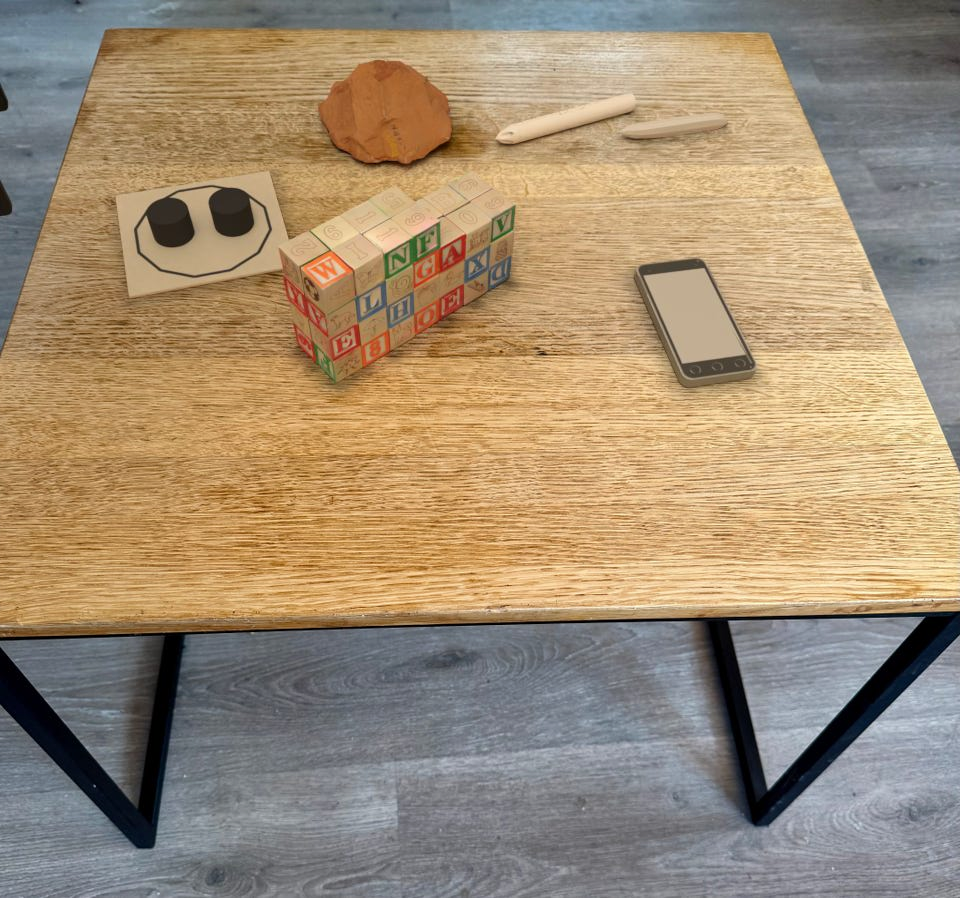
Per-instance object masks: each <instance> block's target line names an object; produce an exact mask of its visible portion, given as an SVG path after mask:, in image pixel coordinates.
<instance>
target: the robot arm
mask: <svg viewBox="0 0 960 898" xmlns="http://www.w3.org/2000/svg"><path fill="white" fill-rule="evenodd" d="M8 109H9V100H8V97H7V95H6V92H5V90H4V87H3V85H2V84H1V83H0V113H1V112H6V111H7V110H8ZM12 213H13V202H12V201H11V198H10V196H9V195H8V193H7V191H6V188H5V186H4V184H3V182H2V181H1V179H0V217H5V216H9V215H11V214H12Z"/></svg>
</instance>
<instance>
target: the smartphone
mask: <svg viewBox="0 0 960 898" xmlns="http://www.w3.org/2000/svg"><path fill="white" fill-rule="evenodd" d="M633 278H634V281H635V284H636V286H637V288H638V290H639V293H640V295H641V297H642V300H643V302H644V304H645V306H646V309H647V311H648V314H649V317H650V318H651V321H652V323H653V326H654V328H655V331H656V332H657V334H658V337H659V339H660V341H661V343H662V346H663V348H664V350H665V352H666V355H667V357H668V360H669V362H670V364H671V366H672V368H673V371H674V373H675V376H676V378H677V381H678V382H679V384H680V385H682V386H683V387H685V388H693V387H695V388H696V387H700V386H702V387H703V386H708V385H715V384H721V383H728V382H729V383H730V382H736V381H741V380H748V379H751V378H753V377H754V374H755V373H756V371H757V369H758V363H757V360H756V358H755V356H754V354H753V352H752V351H751V349H750V346H749V345H748V343H747V341H746V339H745V337H744V334H743V333H742V331H741V329H740V327H739V325H738V323H737V321H736V319H735V317H734V315H733V312H732V310H730V309H731V308H730V307H729V305H728V302H727V301H726V299H725V297H724V295H723V294H722V291H721V289H720V288H719V285H718V283H717V280H716V279H715V277H714V276H713V273H712V272H711V270H710V267H709V265H708V263H707V262H706V261H705V259H702V258H701V257H691V258H690V257H689V258H682V259H673V260H666V261H659V262H651V263H649V262H648V263H642V264H639V265H637V267H636V269H635V273H634V276H633Z"/></svg>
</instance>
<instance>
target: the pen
mask: <svg viewBox="0 0 960 898" xmlns="http://www.w3.org/2000/svg"><path fill="white" fill-rule="evenodd" d="M728 122H729V119H728V118H727V117H726V116H725V115H724V114H722V113H720V112H705V113H704V112H703V113H697V114H690V115H682V116H675V117H669V118H663V119H656V120H650V121H643V122H636V123H632V124H629V125H627V126H625V127H623V128H622V129H620V130H619V131H618V132H617V133H619V134H621V135H622V136H624V137H628V138H631V139H639V140H640V139H657V138H658V139H659V138H670V137H677V136H683V135H689V134H690V135H691V134H697V133H702V132H708V131H715V130H718V129H721V128H723V127H724V126H725V125H726V124H727V123H728Z"/></svg>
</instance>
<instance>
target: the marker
mask: <svg viewBox="0 0 960 898" xmlns="http://www.w3.org/2000/svg"><path fill="white" fill-rule="evenodd" d="M636 105H637V99H636V97H635V94H634V93H632V92H628V93H623V94H619V95H616V96H612V97H607V98H604V99H600V100H597V101H592V102H590V103H586V104H581V105H578V106H575V107H571V108H567V109H563V110H559V111H556V112H551V113H547V114H544V115H540V116H537V117H533V118H530V119H526V120H523V121H519V122H515V123H511V124H509V125H507V126H505V127H504V128H503V129H502V130H501V131H499V132H498V134H497V135H496V136H495V141H497V142H499V143H501V144H508V145H511V144H518V143H522V142H525V141H529V140H533V139H536V138H540V137H545V136H547V135H551V134H555V133H558V132H563V131H565V130H568V129H569V130H570V129H573V128H576V127H580V126H584V125H587V124H592V123H595V122H598V121H602V120H605V119H610V118H612V117H616V116H621V115H623V114H628V113H631V112H633V111H635V109H636V108H637V106H636Z"/></svg>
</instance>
